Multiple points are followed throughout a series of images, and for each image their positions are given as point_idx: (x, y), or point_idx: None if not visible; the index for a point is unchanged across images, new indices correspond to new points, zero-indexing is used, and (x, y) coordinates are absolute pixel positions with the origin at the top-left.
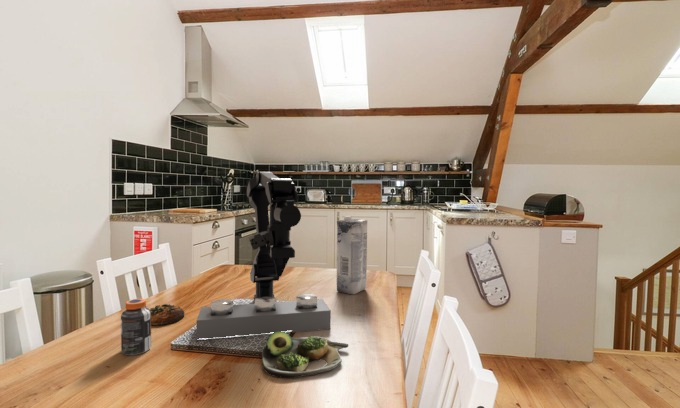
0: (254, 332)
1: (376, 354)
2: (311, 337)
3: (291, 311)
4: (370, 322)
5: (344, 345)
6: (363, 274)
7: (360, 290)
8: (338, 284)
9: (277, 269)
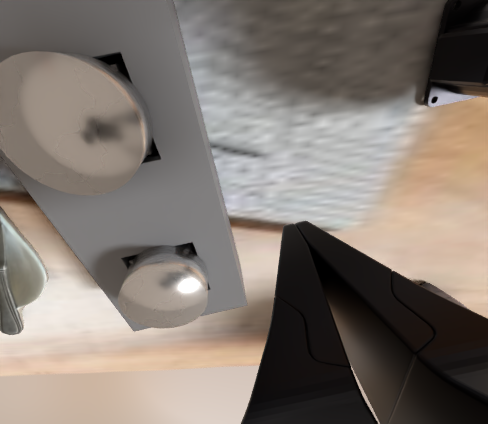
0: None
1: (31, 354)
2: None
3: (87, 238)
4: (198, 341)
5: (2, 330)
6: None
7: None
8: None
9: (277, 276)
